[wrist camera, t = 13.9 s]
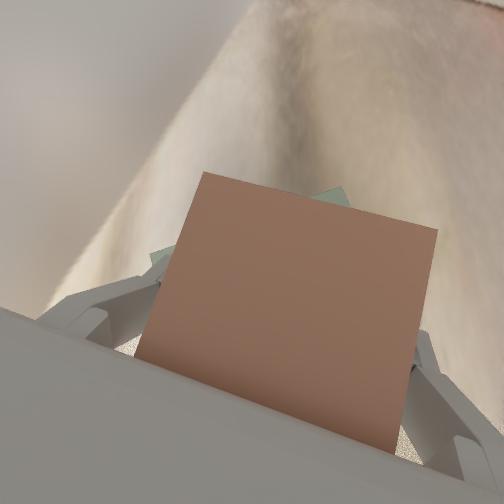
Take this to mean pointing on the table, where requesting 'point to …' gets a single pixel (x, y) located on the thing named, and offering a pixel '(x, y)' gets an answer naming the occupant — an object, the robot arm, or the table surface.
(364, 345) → the white brown-topped block
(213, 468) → the robot arm
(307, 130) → the table surface
